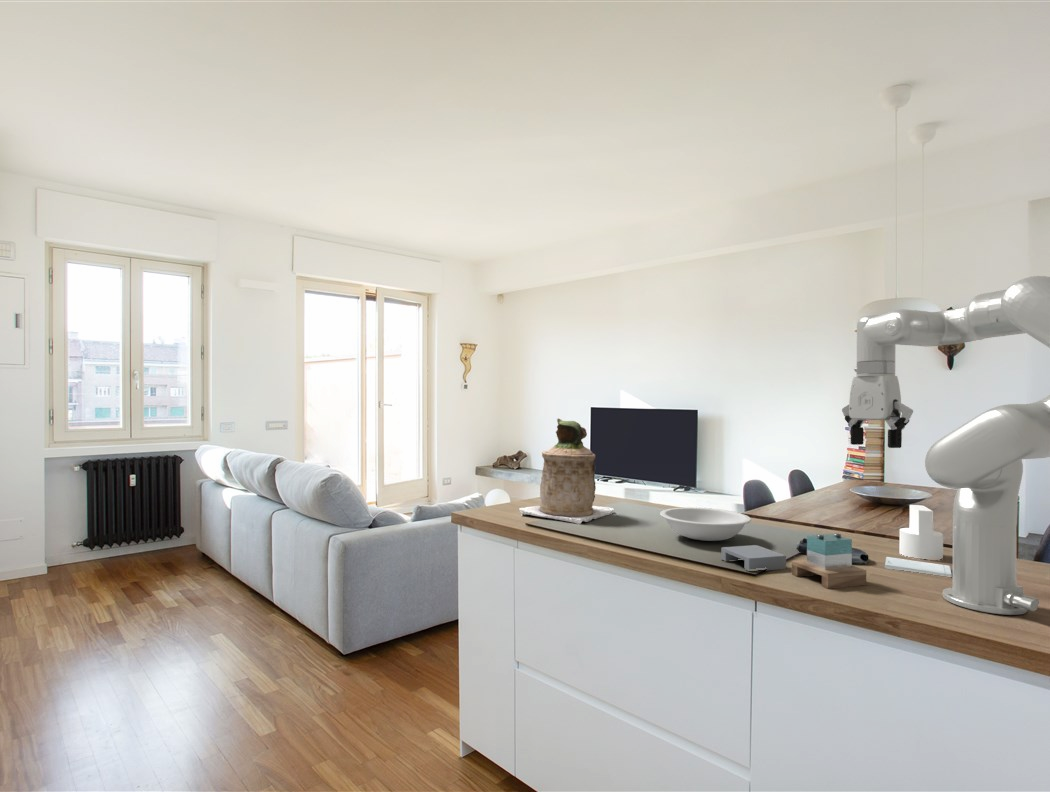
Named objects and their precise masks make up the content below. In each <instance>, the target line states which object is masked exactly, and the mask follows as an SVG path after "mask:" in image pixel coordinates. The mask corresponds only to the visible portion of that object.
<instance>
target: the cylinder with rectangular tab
mask: <svg viewBox="0 0 1050 792" xmlns="http://www.w3.org/2000/svg"><path fill="white" fill-rule="evenodd" d="M898 547H899V550H898V551H899V555H901V554H902V555H901V556H903V555H904V556H903V557H906V556H908V557H907V558H909V557H914V558H922V559H941V558H943V559H944V534H943V533H942V532H940V531H935V530H934V510H932V509H930V508H929V507H926V506H925V505H923V504H922V505H920V504H909V527H903V528H899V546H898ZM914 558H913V559H914Z"/></svg>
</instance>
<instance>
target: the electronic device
mask: <svg viewBox="0 0 1050 792" xmlns="http://www.w3.org/2000/svg"><path fill="white" fill-rule="evenodd" d="M796 550H797V552H798V551H799V552H801V553H800V554H804V555H807V537H806V538H805V537H804V538H802V540H800V541H798V542H797V543H796ZM799 552H798V553H799ZM869 560H870V559H869V554H868V553H867V552H865V551H864V550H862V549H860V548H856V547H852V565H862V564H865V565H867V563H868V562H869Z"/></svg>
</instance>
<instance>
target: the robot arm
mask: <svg viewBox="0 0 1050 792" xmlns="http://www.w3.org/2000/svg"><path fill="white" fill-rule="evenodd" d="M968 303H969V304H968V305H967V306H963V307H958V308H952V309H948V310H941V311H940V310H939V311H927V310H926V311H925V310H917V309H915V310H914V309H905V308H904V309H902V308H899V309H895V310H891V311H889V312H885V313H883V314H871V315H865V316H862V317H860V318H859V319H858V320H857V321H856V366H855V367H854V368H853V369H854V372H855V373H856V376H853V378H852V382H851V386H850V391H849V393H850V394H849V401H848V402H849V404H847V405H845V406H844V407H842V409H841V411H842V414H843V416H844V421H846V422H847V426H848V428H850V445H853V446H855V445H857V446H860V445H864V427H863V424H864V423H865V421H885V423H886V424H887V425H888V427H889V428H890V429H889V428H888V429H887V447H888V449H901V448H902V439H903V437H902V436H903V435H902V432H903V431H902V430H905V429H906V426H907V425H908V424H909V423H910V419H911V417H912V415H913V414H914V410H913V409H912V408H910V407H909V406H907V405H906V404H903V403H902V398H901V397H902V395H901V389H900V388H901V387H900V382H899V378H898V377H899V376H898V375H896V346H897V345H900V346H912V347H913V346H915V347H916V346H917V347H925V348H927V347H928V348H930V347H938V346H940V347H941V346H949V345H956V344H964V343H970V342H975V341H981V340H985V339H991V338H999V337H1005V336H1013V335H1021V334H1027V335H1028V336H1030V337H1032V338H1034V340H1036V341H1038V342H1039V343H1041V344H1043V345H1044V346H1046V347H1047V348H1049V349H1050V276H1047V275H1046V276H1045V275H1036V276H1035V275H1034V276H1029V277H1025V278H1023V279H1020V280H1017V281H1016V282H1013V283H1012V284H1011V285H1010V286H1009V287H1007V289H1003V290H997V291H991V292H987V293H986V292H984V293H980V294H977V295H975V296H973V298H972V299H971V300H970V301H969V302H968ZM1047 458H1050V394H1049V395H1047V396H1046V397H1044V398H1042V399H1039V400H1038V401H1035V402H1032V403H1031V402H1030V403H1011V404H1010V403H1009V404H1003V405H997V406H994V407H991V408H989V409H986V410H985V411H983V412H982V413H980V414H978V415H977V416H975V417H973V418H972V419H970V420H968V421H967V422H965V423H964V424H963V423H962V425H960V426H959V427H957V428H956V429H953V430H952V431H950V432H949V433H948V434H946V435H944V436H943V437H941V438H940V439H939V440H937V441H935V442H934V443H933V445H931V447H930V448H929V449H928V451H927V453H926V456H925V459H924V468H925V470H926V473H927V475H928V476H929V478H930V479H931V480H932V481H934V483H937V485H940V486H942V487H944V488H947V489H952V490H956V493H955V496H954V500H953V505H952V506H953V507H952V578H951V579H952V581H951V582H952V587H947V588H944V589H943V590H942V597H943V599H944V600H946V601H948V602H950V603H951V604H954V605H957V606H959V607H962V608H965V609H969V610H973V611H978V612H983V613H989V614H996V615H1006V616H1016V615H1023V614H1026V613H1027V612H1028V611H1031V612H1035V611H1037V609H1038V608H1039V603H1040V600H1039V599H1038V598H1037V597H1033V596H1030V595H1025V593H1024V586H1022V585H1019V584H1017V526H1018V499H1019V494H1020V493H1019V492H1020V488H1021V484H1022V478H1023V473H1024V464H1023V460H1034V459H1035V460H1036V459H1047Z"/></svg>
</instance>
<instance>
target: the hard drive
mask: <svg viewBox="0 0 1050 792" xmlns="http://www.w3.org/2000/svg"><path fill="white" fill-rule="evenodd" d="M884 569H887V570H892V569H895V570H894V571H899V570H904V571H903V572H906V571H911V572H910V573H913V572H919V573H918V574H920V573H926V574H925V575H927V574H933V575H932V576H934V575H940V576H947V577H952V578H953V572H952V570H951V566H950V565H948V564H947V565H946V564H940V563H931V562H926V561H921V560H919V561H918V560H910V559H906V558H905V559H903V558H899V557H891V556H886V557H885V563H884ZM940 576H939V577H940ZM947 577H946V578H947Z"/></svg>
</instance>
